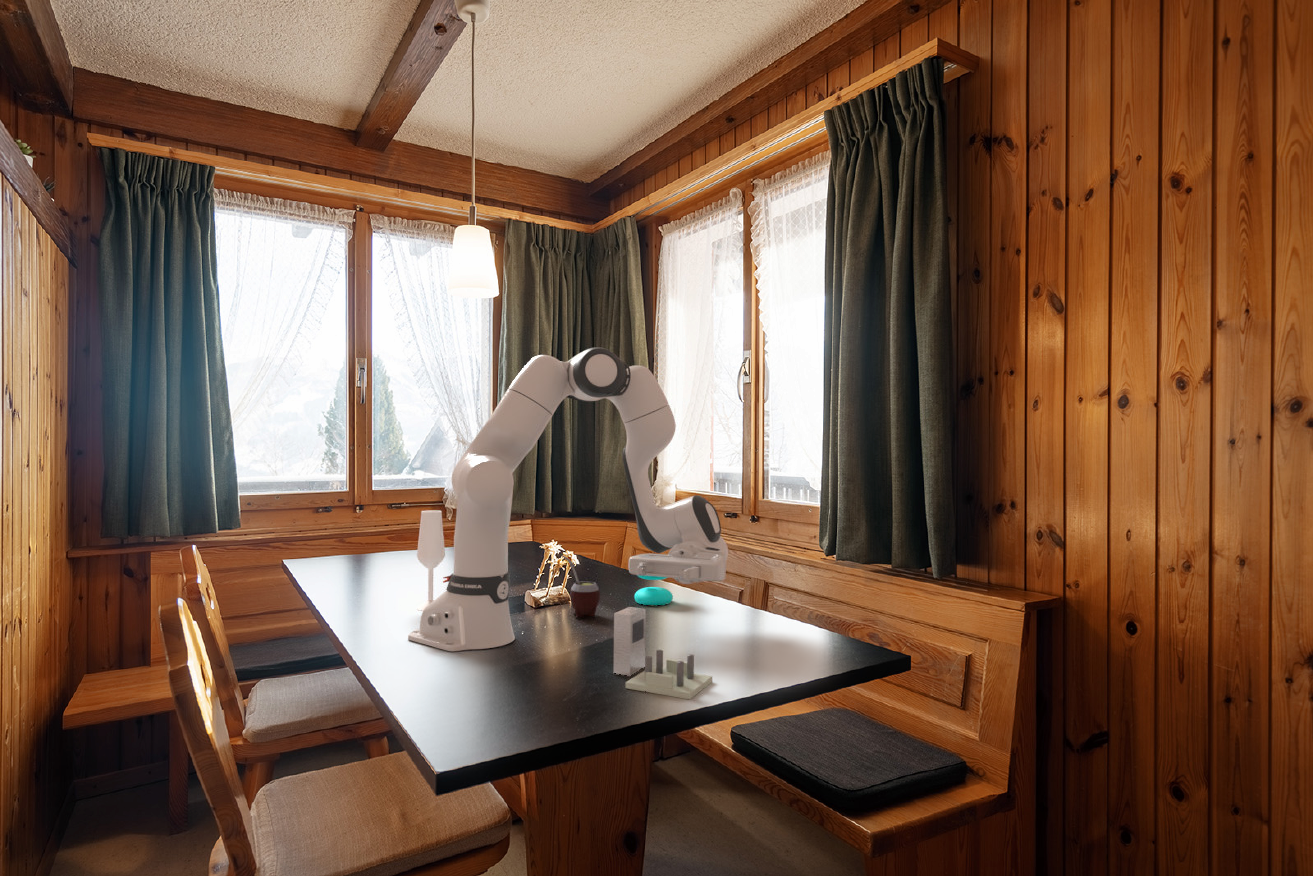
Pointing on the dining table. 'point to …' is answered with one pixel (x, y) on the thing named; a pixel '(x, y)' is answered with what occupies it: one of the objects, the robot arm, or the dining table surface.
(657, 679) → the peg board
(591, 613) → the mate gourd
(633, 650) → the block
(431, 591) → the champagne flute
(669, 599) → the donuts
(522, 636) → the dining table surface
